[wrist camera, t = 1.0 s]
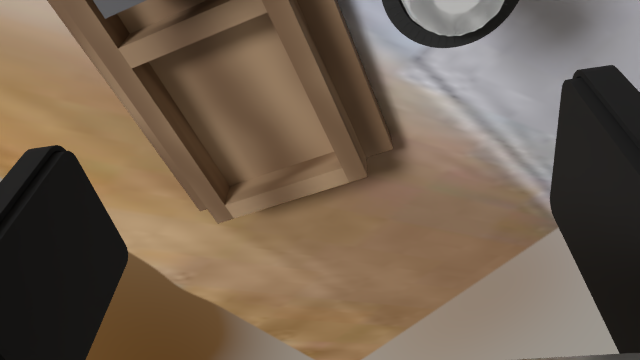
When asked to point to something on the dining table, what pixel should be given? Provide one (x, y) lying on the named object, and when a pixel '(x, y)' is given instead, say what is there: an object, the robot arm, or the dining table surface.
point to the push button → (447, 19)
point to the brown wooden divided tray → (239, 94)
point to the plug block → (114, 6)
